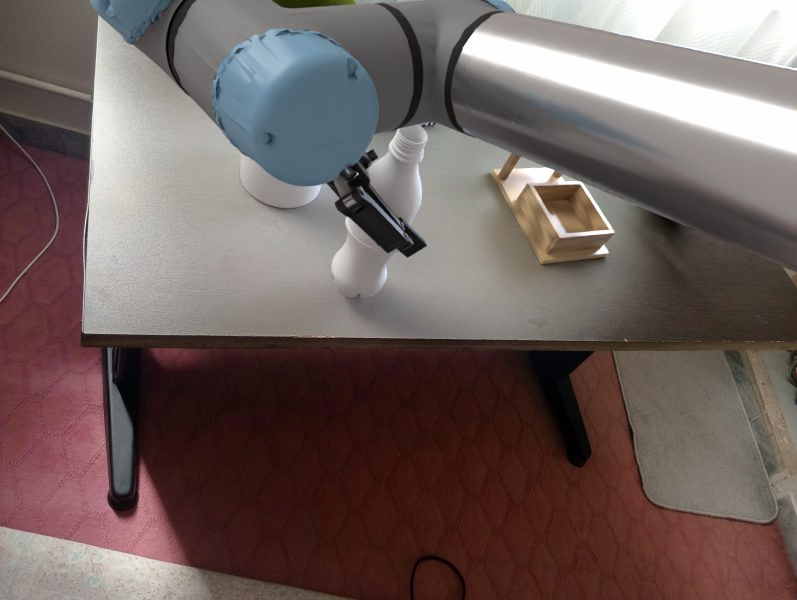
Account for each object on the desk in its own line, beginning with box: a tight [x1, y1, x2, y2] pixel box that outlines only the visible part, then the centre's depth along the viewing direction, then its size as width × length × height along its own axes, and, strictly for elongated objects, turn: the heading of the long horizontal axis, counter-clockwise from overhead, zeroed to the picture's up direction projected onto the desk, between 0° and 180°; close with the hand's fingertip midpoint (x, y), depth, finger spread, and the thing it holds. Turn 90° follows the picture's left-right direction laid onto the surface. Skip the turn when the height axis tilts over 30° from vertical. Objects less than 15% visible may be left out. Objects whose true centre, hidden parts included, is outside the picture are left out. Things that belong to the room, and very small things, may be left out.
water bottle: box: [330, 125, 429, 300], centre depth 61 cm, size 7×7×25 cm
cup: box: [239, 152, 323, 209], centre depth 74 cm, size 12×12×12 cm
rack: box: [490, 152, 616, 265], centre depth 84 cm, size 20×15×21 cm
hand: (403, 222), depth 63 cm, fingers closed on water bottle, 7 cm apart
